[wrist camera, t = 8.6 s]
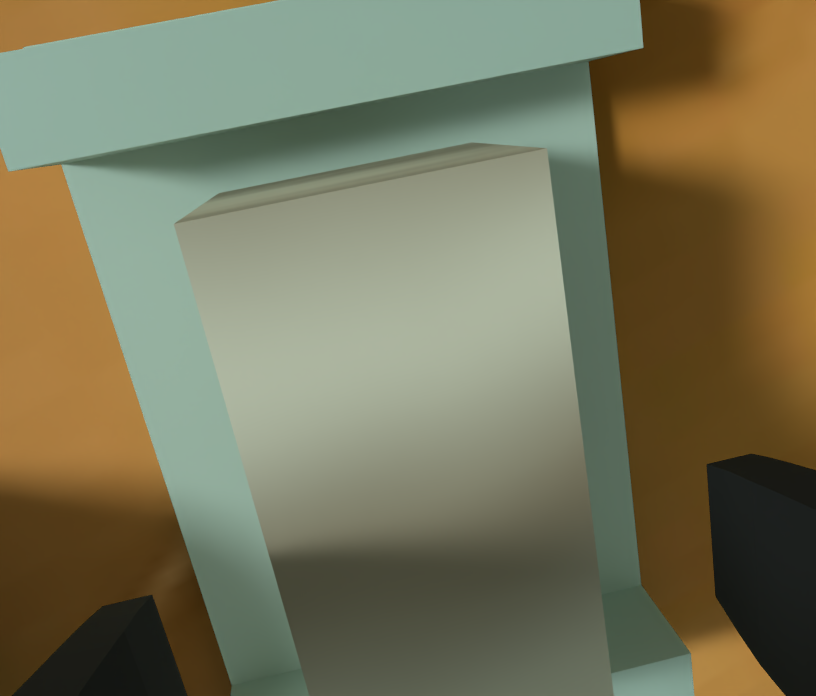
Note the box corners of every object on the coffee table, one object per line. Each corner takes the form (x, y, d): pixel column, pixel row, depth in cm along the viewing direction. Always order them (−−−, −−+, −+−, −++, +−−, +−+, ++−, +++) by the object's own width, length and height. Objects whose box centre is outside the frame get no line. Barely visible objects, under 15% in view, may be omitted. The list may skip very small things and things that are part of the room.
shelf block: (544, 616, 16) (624, 785, 12) (344, 666, 15) (355, 856, 11) (471, 142, 12) (546, 148, 8) (219, 193, 12) (174, 224, 8)
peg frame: (637, 635, 19) (696, 726, 16) (255, 731, 18) (244, 844, 15) (566, -47, 14) (632, -93, 11) (35, 51, 13) (-42, 28, 10)
